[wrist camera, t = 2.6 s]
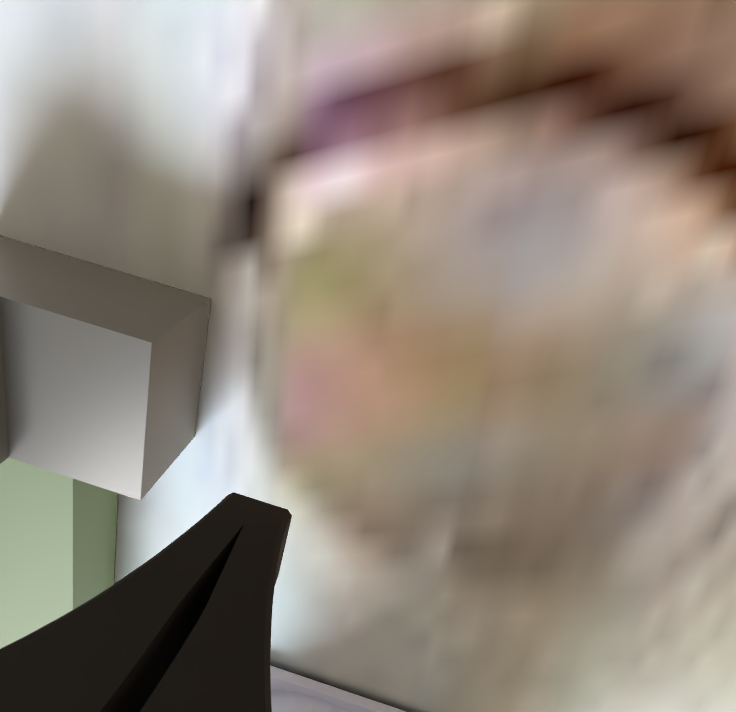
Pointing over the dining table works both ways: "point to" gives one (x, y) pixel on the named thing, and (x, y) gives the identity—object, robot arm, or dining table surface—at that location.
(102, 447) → the grey stepped block
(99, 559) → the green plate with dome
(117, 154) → the dining table surface
